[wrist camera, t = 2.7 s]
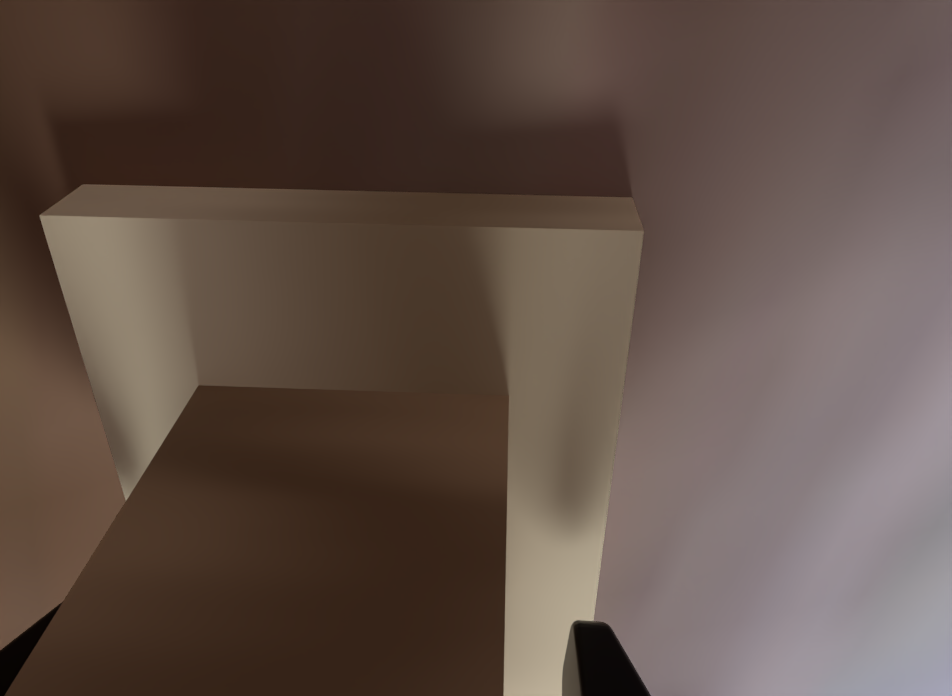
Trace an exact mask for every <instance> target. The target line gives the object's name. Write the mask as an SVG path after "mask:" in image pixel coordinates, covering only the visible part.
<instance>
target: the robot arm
mask: <svg viewBox="0 0 952 696" xmlns="http://www.w3.org/2000/svg"><path fill="white" fill-rule="evenodd" d="M62 603H63V602H62ZM62 603H60V604H59V605H58V606H57V607H55V608H54V609H53V610H51V611H50V612H49V613H48V614H46V615H45V616H44V617H43V618H41V619H40V620H39V621H37V622H36V623H35V624H34V625H32V626H31V627H30V628H28V629H27V630H26V631H25V632H23V633H22V634H21V635H19V636H18V637H17V638H16V639H14V640H13V641H12V642H10V643H9V644H8V645H7V646H5V647H4V648H3V649H2V650H0V696H4V695H5V694H6V692H7V691H8V689H9V687H10V686H11V684H12V683H13V681H14V679H15V678H16V676H17V675H18V673H19V671H20V670H21V668H22V667H23V665H24V663H25V662H26V660H27V659H28V657H29V655H30V654H31V652H32V651H33V649H34V647H35V646H36V644H37V643H38V641H39V639H40V638H41V636H42V635H43V633H44V631H45V630H46V628H47V627H48V625H49V623H50V622H51V620H52V619H53V617H54V615H55V614H56V612H57V611H58V609H59V608H60V606H61V604H62ZM562 696H651V695H650V694H649V692H648V690H647V688H646V687H645V685H644V683H643V682H642V680H641V678H640V676H639V675H638V673H637V671H636V670H635V668H634V666H633V664H632V663H631V661H630V659H629V658H628V656H627V654H626V652H625V651H624V649H623V647H622V646H621V644H620V642H619V640H618V639H617V637H616V635H615V634H614V632H613V630H612V629H611V627H610V626H609V625H608V624H606V623H604V622H597V621H585V620H576V621H574V622H573V623H572V625H571V628H570V632H569V638H568V643H567V648H566V653H565V659H564V664H563V672H562Z"/></svg>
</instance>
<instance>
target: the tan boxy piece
mask: <svg viewBox="0 0 952 696" xmlns="http://www.w3.org/2000/svg"><path fill="white" fill-rule="evenodd" d="M39 217H40V220H41V223H42V226H43V230H44V233H45V236H46V240H47V243H48V246H49V249H50V253H51V256H52V259H53V263H54V266H55V269H56V272H57V276H58V279H59V282H60V286H61V289H62V292H63V295H64V299H65V302H66V305H67V309H68V312H69V315H70V318H71V322H72V325H73V328H74V332H75V335H76V338H77V342H78V345H79V348H80V351H81V355H82V358H83V361H84V365H85V368H86V371H87V374H88V378H89V381H90V384H91V388H92V391H93V394H94V397H95V401H96V404H97V407H98V411H99V414H100V417H101V420H102V424H103V427H104V430H105V434H106V437H107V440H108V444H109V447H110V450H111V453H112V457H113V460H114V463H115V467H116V470H117V473H118V476H119V480H120V483H121V486H122V490H123V493H124V496H125V499H126V502H125V504H124V505H123V507H122V508H121V510H120V512H119V513H118V515H117V516H116V518H115V520H114V521H113V523H112V524H111V526H110V528H109V529H108V531H107V532H106V534H105V536H104V537H103V539H102V540H101V542H100V544H99V545H98V547H97V548H96V550H95V552H94V553H93V555H92V556H91V558H90V560H89V561H88V563H87V564H86V566H85V568H84V569H83V571H82V572H81V574H80V576H79V577H78V579H77V580H76V582H75V584H74V585H73V587H72V588H71V590H70V592H69V593H68V595H67V596H66V598H65V600H64V601H63V603H62V604H61V606H60V608H59V609H58V611H57V612H56V614H55V615H54V617H53V619H52V620H51V622H50V623H49V625H48V627H47V628H46V630H45V631H44V633H43V635H42V636H41V638H40V639H39V641H38V643H37V644H36V646H35V647H34V649H33V651H32V652H31V654H30V655H29V657H28V659H27V660H26V662H25V663H24V665H23V667H22V668H21V670H20V671H19V673H18V675H17V676H16V678H15V679H14V681H13V683H12V684H11V686H10V687H9V689H8V691H7V692H6V694H5V695H4V696H562V672H563V664H564V659H565V653H566V648H567V643H568V638H569V632H570V628H571V625H572V623H573V622H574V621H576V620H585V621H593V619H594V612H595V604H596V596H597V589H598V581H599V573H600V566H601V558H602V550H603V543H604V535H605V527H606V520H607V512H608V504H609V497H610V489H611V481H612V474H613V466H614V458H615V451H616V443H617V435H618V428H619V420H620V412H621V405H622V397H623V389H624V382H625V374H626V366H627V359H628V351H629V343H630V336H631V328H632V320H633V313H634V305H635V297H636V290H637V282H638V274H639V267H640V259H641V251H642V244H643V236H644V229H643V226H642V224H641V221H640V218H639V215H638V212H637V209H636V206H635V204H634V201H633V198H632V197H593V196H551V195H510V194H468V193H427V192H385V191H344V190H302V189H261V188H219V187H178V186H137V185H95V184H82V185H81V186H80V187H78V188H77V189H75V190H74V191H73V192H71V193H70V194H68V195H67V196H66V197H64V198H63V199H61V200H60V201H59V202H57V203H56V204H54V205H53V206H52V207H50V208H49V209H47V210H46V211H45V212H43V213H42V214H40V215H39Z"/></svg>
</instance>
